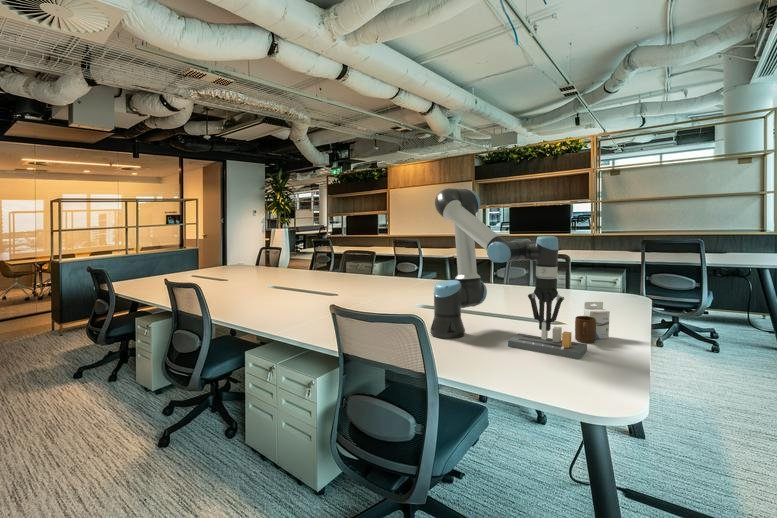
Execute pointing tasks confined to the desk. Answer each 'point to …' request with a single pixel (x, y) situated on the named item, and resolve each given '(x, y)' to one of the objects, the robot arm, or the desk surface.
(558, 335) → the fader far
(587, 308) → the ink box
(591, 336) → the mug
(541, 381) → the desk surface
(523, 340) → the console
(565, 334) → the fader tab
